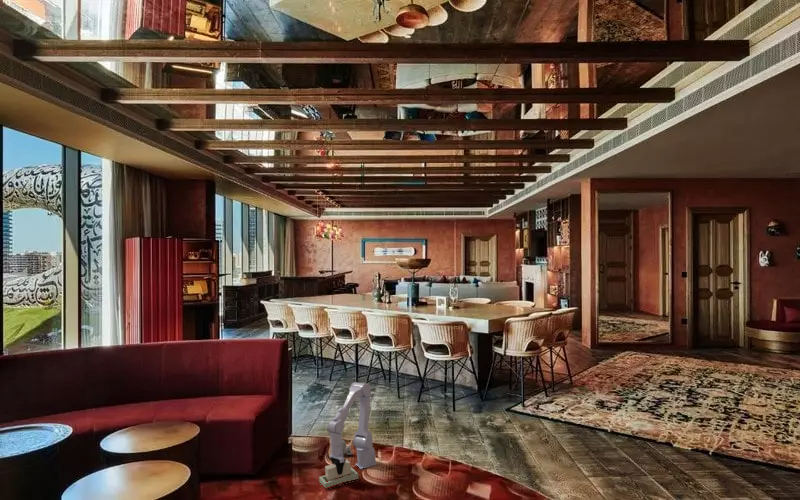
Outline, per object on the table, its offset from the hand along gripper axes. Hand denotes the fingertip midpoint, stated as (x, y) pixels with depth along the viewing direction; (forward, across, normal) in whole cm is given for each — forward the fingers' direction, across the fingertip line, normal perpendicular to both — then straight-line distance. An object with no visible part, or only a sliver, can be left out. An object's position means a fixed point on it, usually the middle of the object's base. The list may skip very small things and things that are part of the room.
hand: (338, 472), depth 217 cm
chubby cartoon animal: (+5, -30, +13) cm, 33 cm away
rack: (+4, 0, 0) cm, 4 cm away
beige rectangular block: (+2, 0, 0) cm, 2 cm away
